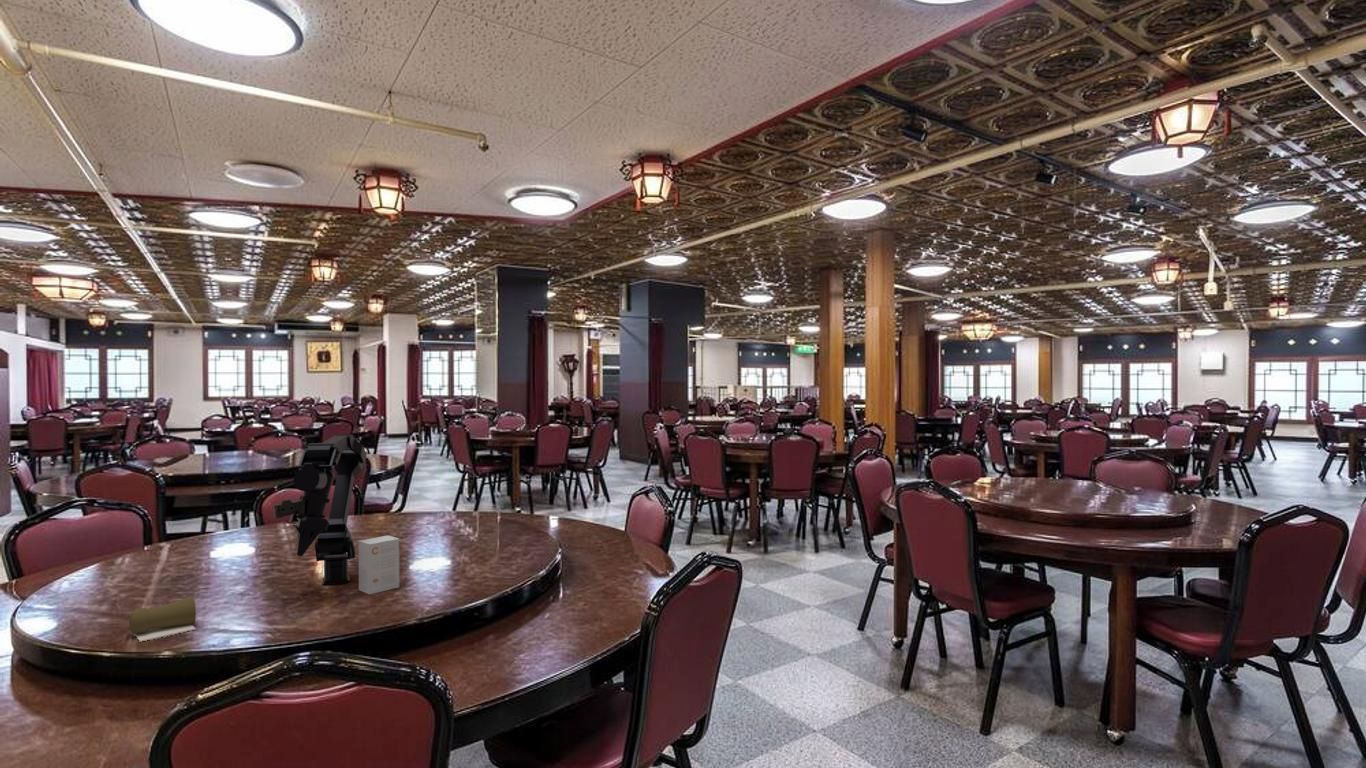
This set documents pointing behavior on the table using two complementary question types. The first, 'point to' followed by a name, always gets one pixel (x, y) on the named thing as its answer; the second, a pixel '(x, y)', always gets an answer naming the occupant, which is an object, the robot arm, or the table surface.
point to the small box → (378, 564)
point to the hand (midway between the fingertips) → (299, 555)
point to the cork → (163, 616)
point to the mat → (163, 632)
